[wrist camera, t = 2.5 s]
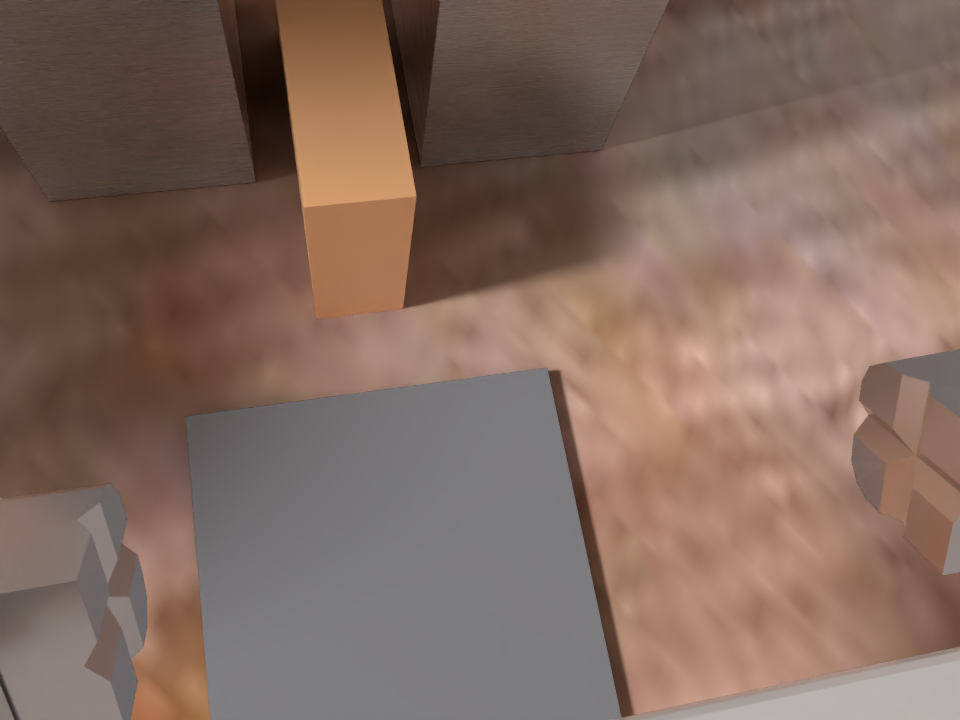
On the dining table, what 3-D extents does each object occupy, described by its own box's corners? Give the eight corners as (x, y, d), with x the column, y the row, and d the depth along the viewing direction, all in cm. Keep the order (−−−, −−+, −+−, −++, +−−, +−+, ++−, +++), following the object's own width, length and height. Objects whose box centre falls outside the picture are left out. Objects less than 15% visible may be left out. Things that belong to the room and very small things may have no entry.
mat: (621, 739, 28) (626, 740, 28) (221, 823, 26) (219, 826, 26) (544, 372, 32) (547, 367, 31) (188, 420, 30) (185, 416, 29)
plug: (402, 309, 32) (416, 196, 24) (316, 319, 31) (303, 207, 24) (356, 26, 36) (356, -147, 28) (278, 31, 35) (256, -144, 28)
